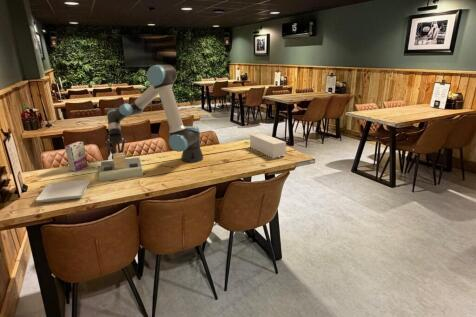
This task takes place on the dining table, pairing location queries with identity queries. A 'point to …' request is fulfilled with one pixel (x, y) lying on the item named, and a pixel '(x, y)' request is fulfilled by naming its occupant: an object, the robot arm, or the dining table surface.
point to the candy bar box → (76, 156)
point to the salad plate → (63, 191)
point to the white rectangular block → (268, 145)
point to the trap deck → (120, 170)
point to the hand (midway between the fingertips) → (118, 162)
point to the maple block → (119, 161)
